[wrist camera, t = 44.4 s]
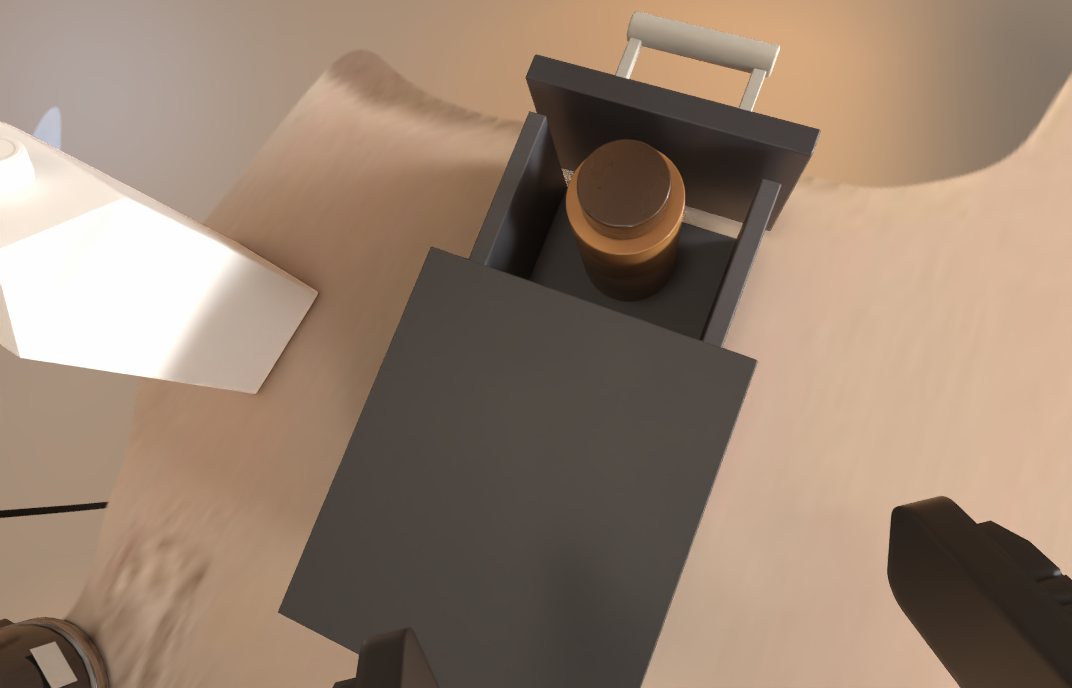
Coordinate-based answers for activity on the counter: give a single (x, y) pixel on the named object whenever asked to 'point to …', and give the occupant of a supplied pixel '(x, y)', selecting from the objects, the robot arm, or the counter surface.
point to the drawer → (677, 132)
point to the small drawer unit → (520, 485)
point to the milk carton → (131, 279)
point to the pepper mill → (627, 218)
